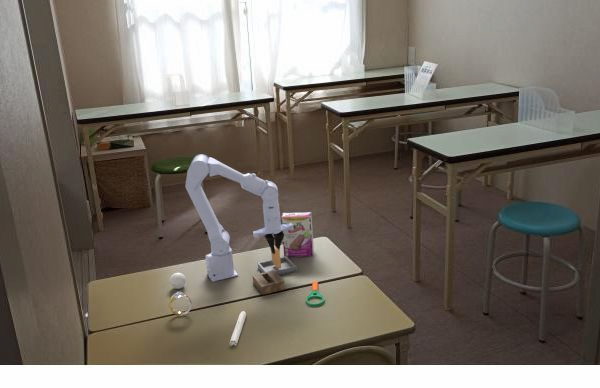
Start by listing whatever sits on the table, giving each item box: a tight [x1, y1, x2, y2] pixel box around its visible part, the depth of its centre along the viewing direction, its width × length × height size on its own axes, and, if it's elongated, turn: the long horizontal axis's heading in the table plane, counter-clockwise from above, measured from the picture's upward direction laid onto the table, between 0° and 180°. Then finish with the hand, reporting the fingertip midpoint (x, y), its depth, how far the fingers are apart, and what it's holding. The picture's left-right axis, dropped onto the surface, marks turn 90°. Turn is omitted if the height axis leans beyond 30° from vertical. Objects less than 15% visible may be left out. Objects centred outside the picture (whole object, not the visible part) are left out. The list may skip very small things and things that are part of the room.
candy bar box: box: [280, 211, 315, 258], centre depth 223 cm, size 11×5×16 cm, turn 84°
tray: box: [257, 255, 297, 276], centre depth 214 cm, size 11×10×2 cm
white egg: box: [167, 272, 187, 290], centre depth 205 cm, size 8×6×6 cm
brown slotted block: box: [251, 270, 286, 296], centre depth 201 cm, size 8×10×3 cm
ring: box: [167, 291, 192, 317], centre depth 186 cm, size 7×3×8 cm, turn 87°
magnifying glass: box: [305, 280, 325, 308], centre depth 193 cm, size 15×6×2 cm, turn 178°
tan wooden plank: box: [270, 244, 281, 269], centre depth 213 cm, size 1×6×7 cm, turn 22°
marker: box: [229, 310, 247, 347], centre depth 176 cm, size 18×2×2 cm, turn 175°
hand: (275, 252), depth 212 cm, fingers closed on tan wooden plank, 1 cm apart
